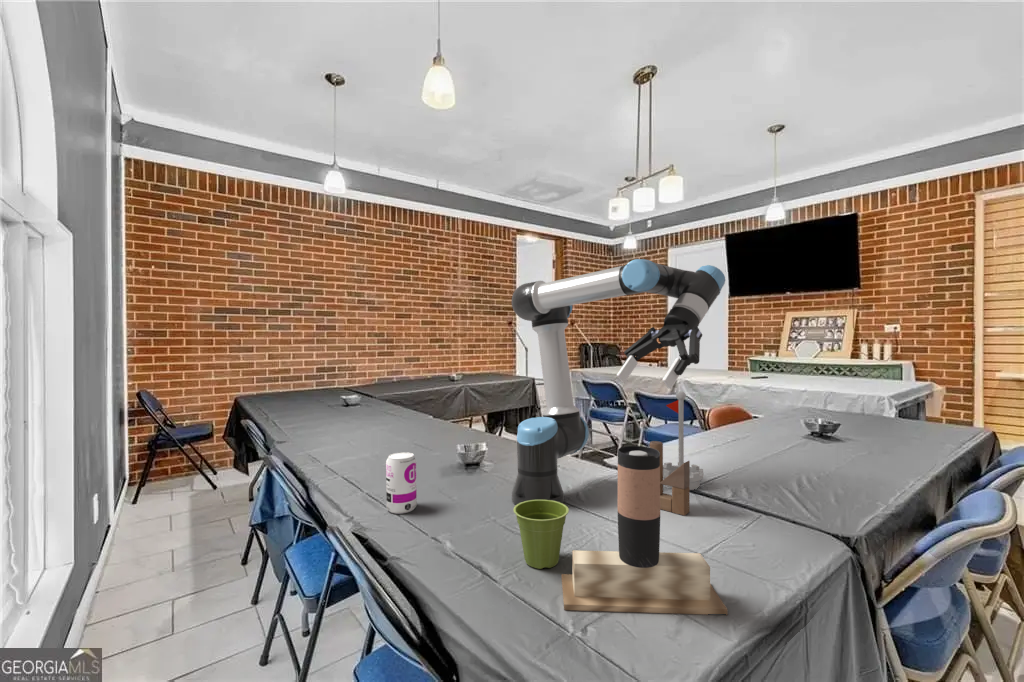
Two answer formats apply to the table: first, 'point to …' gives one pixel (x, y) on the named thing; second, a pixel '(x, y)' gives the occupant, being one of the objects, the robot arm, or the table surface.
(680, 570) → the ridge
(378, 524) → the table surface
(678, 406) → the flag stand
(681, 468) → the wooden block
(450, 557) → the table surface
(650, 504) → the travel mug
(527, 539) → the plant pot
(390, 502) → the supplement can
